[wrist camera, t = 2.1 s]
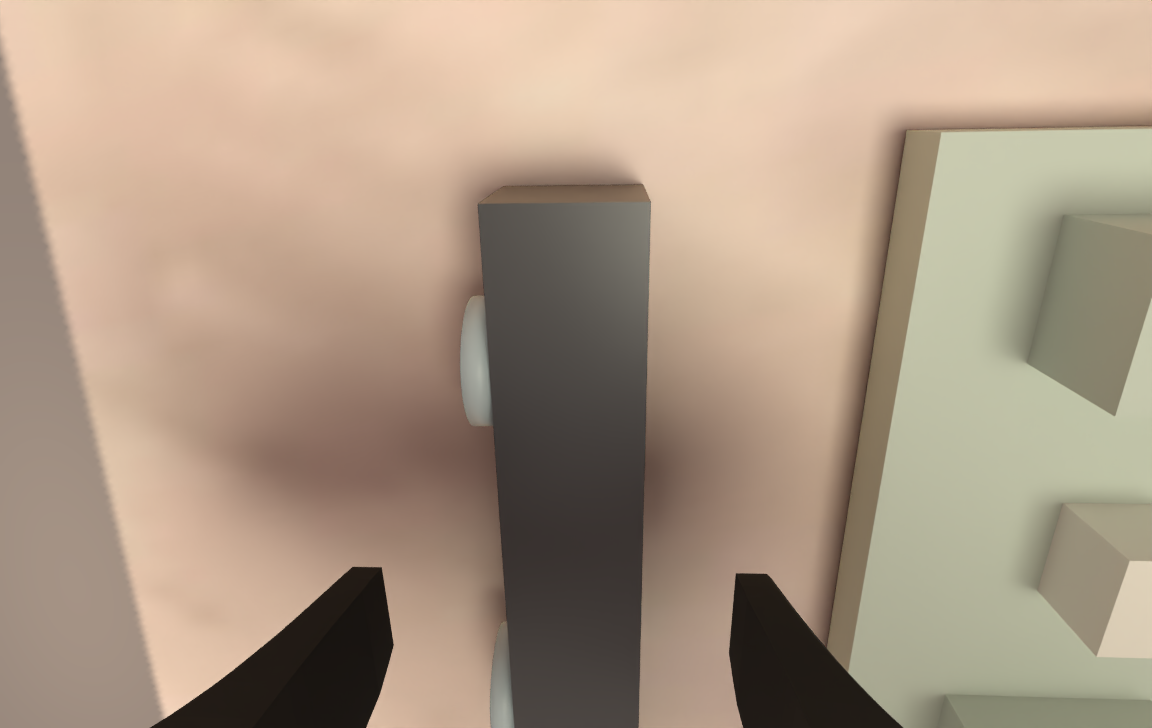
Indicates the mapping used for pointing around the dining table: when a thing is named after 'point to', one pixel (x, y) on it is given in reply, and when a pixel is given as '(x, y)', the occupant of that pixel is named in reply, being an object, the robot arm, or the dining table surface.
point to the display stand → (1008, 438)
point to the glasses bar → (564, 444)
